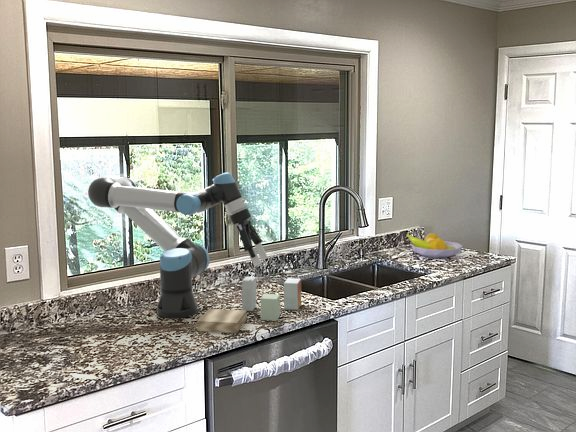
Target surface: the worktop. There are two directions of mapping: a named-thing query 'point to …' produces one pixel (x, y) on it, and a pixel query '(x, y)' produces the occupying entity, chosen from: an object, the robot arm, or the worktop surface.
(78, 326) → the worktop surface
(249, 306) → the skincare box
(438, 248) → the fruit bowl
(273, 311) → the sage block
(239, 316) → the birch block
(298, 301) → the small box
